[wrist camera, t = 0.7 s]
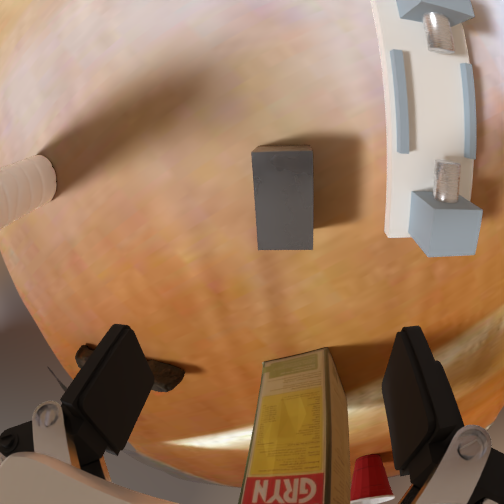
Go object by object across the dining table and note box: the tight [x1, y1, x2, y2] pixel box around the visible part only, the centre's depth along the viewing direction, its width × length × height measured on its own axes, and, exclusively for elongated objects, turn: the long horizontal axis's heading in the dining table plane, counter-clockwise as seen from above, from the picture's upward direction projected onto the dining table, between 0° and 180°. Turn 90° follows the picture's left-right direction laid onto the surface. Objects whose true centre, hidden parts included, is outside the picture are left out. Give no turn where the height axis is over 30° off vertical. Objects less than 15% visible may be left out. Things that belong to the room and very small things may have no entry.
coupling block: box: [251, 145, 313, 250], centre depth 24 cm, size 8×4×4 cm, turn 4°
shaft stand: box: [370, 0, 483, 257], centre depth 17 cm, size 25×9×6 cm, turn 7°
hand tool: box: [75, 345, 185, 392], centre depth 39 cm, size 19×4×5 cm, turn 91°
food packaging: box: [238, 348, 351, 504], centre depth 26 cm, size 13×9×25 cm
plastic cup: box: [350, 454, 395, 504], centre depth 44 cm, size 11×11×12 cm
